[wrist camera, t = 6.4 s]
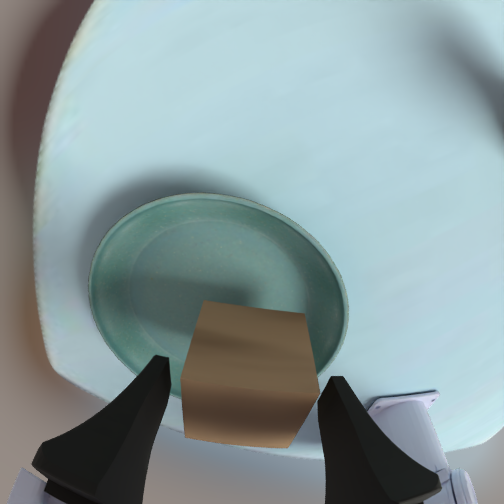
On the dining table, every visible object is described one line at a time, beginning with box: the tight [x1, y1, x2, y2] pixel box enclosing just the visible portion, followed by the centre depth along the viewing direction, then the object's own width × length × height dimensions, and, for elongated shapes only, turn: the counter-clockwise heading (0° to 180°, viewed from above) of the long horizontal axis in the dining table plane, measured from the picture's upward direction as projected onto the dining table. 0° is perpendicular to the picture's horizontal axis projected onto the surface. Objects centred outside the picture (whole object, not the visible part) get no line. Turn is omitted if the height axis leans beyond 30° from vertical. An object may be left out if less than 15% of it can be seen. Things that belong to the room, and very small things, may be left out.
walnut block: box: [180, 300, 320, 448], centre depth 12 cm, size 5×5×5 cm
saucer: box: [88, 193, 349, 399], centre depth 15 cm, size 15×15×3 cm
